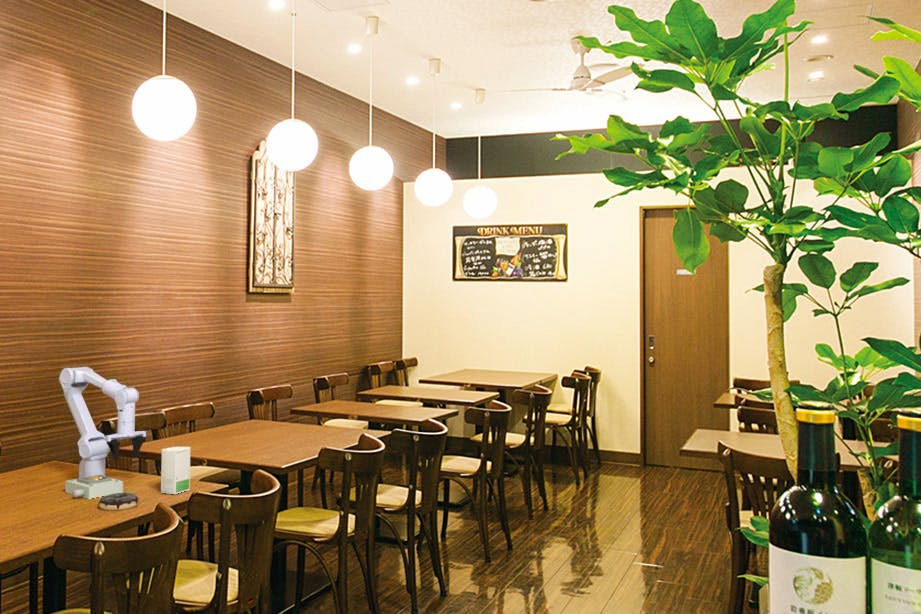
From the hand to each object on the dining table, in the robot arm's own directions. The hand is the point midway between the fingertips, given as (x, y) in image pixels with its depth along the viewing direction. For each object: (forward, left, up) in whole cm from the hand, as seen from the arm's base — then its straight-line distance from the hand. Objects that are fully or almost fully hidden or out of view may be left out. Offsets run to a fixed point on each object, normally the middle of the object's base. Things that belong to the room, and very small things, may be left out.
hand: (125, 458), depth 268 cm
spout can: (+3, -12, -10) cm, 15 cm away
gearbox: (+1, -14, -10) cm, 17 cm away
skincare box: (+22, +6, -10) cm, 25 cm away
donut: (+26, -17, -10) cm, 32 cm away
